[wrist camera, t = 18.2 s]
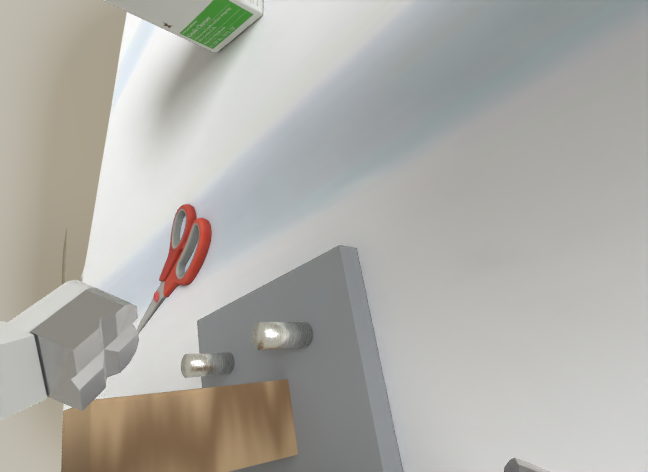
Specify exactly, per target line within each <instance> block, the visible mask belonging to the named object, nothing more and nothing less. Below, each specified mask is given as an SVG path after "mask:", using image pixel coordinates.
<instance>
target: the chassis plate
mask: <svg viewBox="0 0 648 472" xmlns="http://www.w3.org/2000/svg"><path fill="white" fill-rule="evenodd" d="M257 322H307V323H309V324H310V325H311V327H312V330H313V340H312V343H311V344H310V346H308V347H306V348H287V349H267V350H257V349H256V348H255V347H254V346H253V343H252V338H251V334H252V329H253V327H254V325H255V324H256V323H257ZM197 325H198V338H199V352H200V354H203V353H222V352H230V353H232V354H233V356H234V361H235V365H234V369H233V371H232V373H230V374H221V375H210V376H201V379H202V388H210V387H219V386H229V385H238V384H247V383H257V382H266V381H276V380H285V379H288V382H289V390H290V397H291V405H292V412H293V419H294V427H295V434H296V442H297V449H298V455H294V456H290V457H286V458H282V459H278V460H274V461H270V462H266V463H262V464H258V465H254V466H250V467H246V468H242V469H237V470H233V471H229V472H403V469H402V464H401V460H400V455H399V450H398V445H397V440H396V436H395V431H394V426H393V421H392V416H391V412H390V407H389V402H388V397H387V392H386V388H385V383H384V378H383V373H382V369H381V364H380V359H379V354H378V349H377V345H376V340H375V335H374V330H373V325H372V321H371V316H370V311H369V306H368V301H367V297H366V292H365V287H364V282H363V277H362V273H361V268H360V263H359V258H358V253H357V249H356V248H353V247H346V246H340V245H339V246H337V247H335V248H333V249H332V250H330V251H328V252H326V253H324V254H322V255H320V256H318V257H317V258H315V259H313V260H311V261H309V262H307V263H305V264H303V265H301V266H300V267H298V268H296V269H294V270H292V271H290V272H288V273H286V274H285V275H283V276H281V277H279V278H277V279H275V280H273V281H271V282H269V283H268V284H266V285H264V286H262V287H260V288H258V289H256V290H254V291H252V292H251V293H249V294H247V295H245V296H243V297H241V298H239V299H237V300H236V301H234V302H232V303H230V304H228V305H226V306H224V307H222V308H220V309H219V310H217V311H215V312H213V313H211V314H209V315H207V316H205V317H204V318H202V319H200V320H198V321H197Z"/></svg>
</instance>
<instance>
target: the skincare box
mask: <svg viewBox="0 0 648 472" xmlns="http://www.w3.org/2000/svg"><path fill="white" fill-rule="evenodd" d="M103 1H105V2H107V3H110V4H112V5H114V6H116V7H118V8H120V9H122V10H124V11H126V12H129V13H131V14H133V15H135V16H137V17H139V18H141V19H144V20H146V21H148V22H150V23H152V24H154V25H156V26H158V27H161V28H163V29H165V30H167V31H169V32H171V33H173V34H175V35H178V36H180V37H182V38H184V39H186V40H188V41H190V42H192V43H195V44H197V45H199V46H201V47H203V48H205V49H208V50H210V51H212V52H214V53H217V52H218V51H220V50H221V49H222V48H223V47H224V46H225V45H227V44H228V43H229V42H231V41H232V40H233V39H234V38H235V37H236V36H238V35H239V34H240V33H241V32H242V31H244V30H245V29H246V28H247V27H248V26H250V25H251V24H252V23H253V22H255V21H256V20H257V19H259V18H260V17H261V16H262V15H263V0H103Z"/></svg>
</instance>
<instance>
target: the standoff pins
mask: <svg viewBox="0 0 648 472" xmlns="http://www.w3.org/2000/svg"><path fill="white" fill-rule="evenodd" d="M251 338H252V343H253V346H254V347H255V348H256V349H257V350H267V349H287V348H306V347H308V346H310V344H311V343H312V340H313V330H312V327H311V325H310V324H309V323H307V322H257V323H256V324H255V325H254V327H253V329H252V334H251ZM234 365H235V361H234V356H233V354H232V353H230V352H222V353H203V354H186V355H184V357H183V359H182V362H181V371H182V374H183V376H184V377H186V378H187V377H198V376H210V375H221V374H230V373H232V371H233V369H234Z"/></svg>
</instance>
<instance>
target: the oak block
mask: <svg viewBox="0 0 648 472" xmlns="http://www.w3.org/2000/svg"><path fill="white" fill-rule="evenodd" d="M294 455H298V449H297V442H296V434H295V427H294V419H293V412H292V405H291V397H290V390H289V382H288V379H285V380H276V381H266V382H257V383H247V384H238V385H229V386H219V387H210V388H200V389H191V390H181V391H172V392H162V393H153V394H143V395H134V396H125V397H115V398H106V399H96V400H93V401H92V402H91V403H90V404H89V405H88V406H87V407H86V408H85V409H84V410H83V411H80V410H78V409H76V408H73V407H72V408H70V409H68V410H65V411H63V436H62V469H61V470H62V471H61V472H229V471H233V470H237V469H242V468H246V467H250V466H254V465H258V464H262V463H266V462H270V461H274V460H278V459H282V458H286V457H290V456H294Z"/></svg>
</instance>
